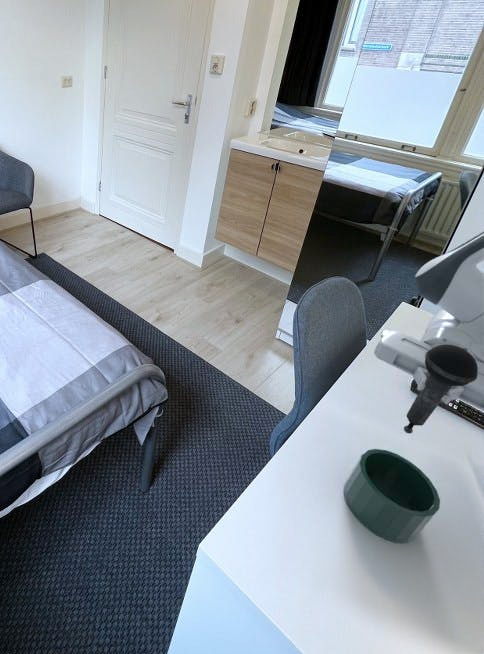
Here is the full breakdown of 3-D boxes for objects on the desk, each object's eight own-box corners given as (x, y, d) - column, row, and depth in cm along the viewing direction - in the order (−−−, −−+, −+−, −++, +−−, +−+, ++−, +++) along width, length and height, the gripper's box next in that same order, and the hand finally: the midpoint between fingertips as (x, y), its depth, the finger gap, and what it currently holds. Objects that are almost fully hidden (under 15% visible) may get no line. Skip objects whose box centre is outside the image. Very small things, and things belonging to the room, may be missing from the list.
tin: (409, 492, 78) (428, 465, 74) (426, 556, 69) (449, 529, 65) (340, 466, 82) (355, 439, 78) (347, 524, 72) (365, 496, 68)
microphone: (378, 412, 80) (426, 332, 70) (418, 420, 79) (471, 339, 69) (394, 444, 74) (448, 361, 64) (437, 453, 73) (498, 370, 63)
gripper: (391, 315, 84) (372, 346, 75) (526, 374, 72) (523, 420, 63) (378, 339, 87) (359, 372, 78) (506, 399, 75) (500, 447, 66)
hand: (433, 394), depth 71 cm, fingers closed on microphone
